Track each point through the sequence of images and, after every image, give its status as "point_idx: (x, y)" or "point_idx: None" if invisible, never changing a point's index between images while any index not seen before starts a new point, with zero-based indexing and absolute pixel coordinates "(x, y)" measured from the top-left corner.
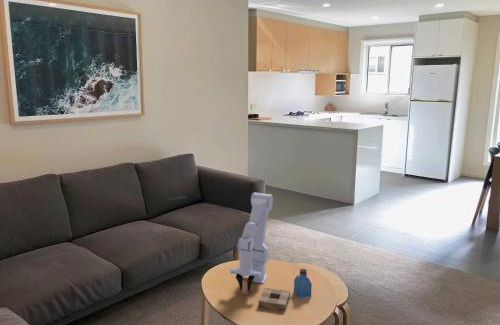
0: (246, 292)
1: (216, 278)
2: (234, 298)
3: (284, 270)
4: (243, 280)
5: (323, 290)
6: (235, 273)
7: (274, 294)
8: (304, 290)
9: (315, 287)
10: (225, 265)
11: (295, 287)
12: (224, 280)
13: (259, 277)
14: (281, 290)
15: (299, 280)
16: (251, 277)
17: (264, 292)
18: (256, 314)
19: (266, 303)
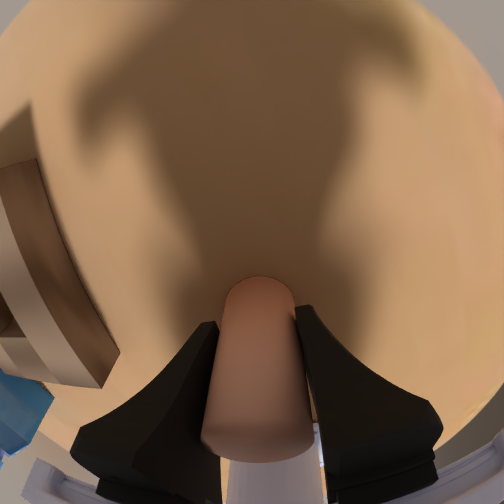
0: (231, 300)
1: (500, 343)
2: (312, 155)
3: None
4: (267, 419)
5: None
6: (452, 467)
7: (18, 332)
8: None
9: (44, 422)
10: (456, 429)
11: (26, 406)
12: (464, 356)
13: (36, 462)
14: (25, 376)
15: None
16: (116, 479)
17: (49, 328)
18: (16, 70)
19: None
